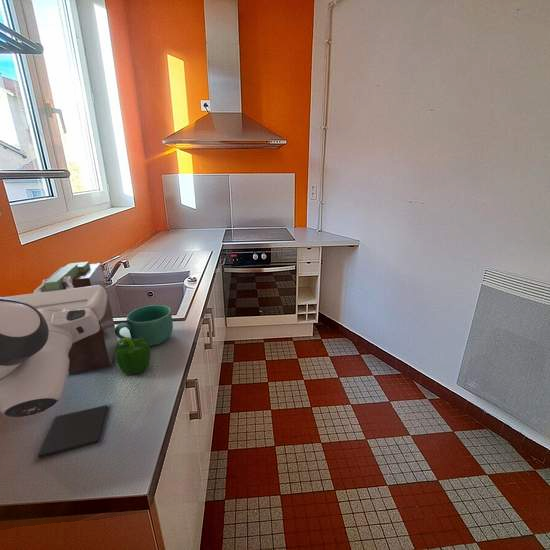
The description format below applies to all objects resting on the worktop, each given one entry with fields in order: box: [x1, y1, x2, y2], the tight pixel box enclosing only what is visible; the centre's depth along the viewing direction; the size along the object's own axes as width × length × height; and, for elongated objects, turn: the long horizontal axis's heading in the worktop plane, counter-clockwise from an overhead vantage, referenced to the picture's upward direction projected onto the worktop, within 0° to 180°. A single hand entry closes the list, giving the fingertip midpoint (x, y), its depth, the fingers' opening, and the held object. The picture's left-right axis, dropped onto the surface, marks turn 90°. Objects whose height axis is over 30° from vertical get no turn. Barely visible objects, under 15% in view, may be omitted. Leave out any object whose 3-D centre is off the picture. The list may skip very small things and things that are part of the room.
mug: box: [115, 304, 174, 347], centre depth 93 cm, size 17×13×10 cm
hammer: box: [44, 261, 91, 292], centre depth 74 cm, size 19×5×2 cm, turn 16°
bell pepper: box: [114, 337, 151, 375], centre depth 80 cm, size 8×8×10 cm
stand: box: [46, 262, 119, 375], centre depth 84 cm, size 10×14×26 cm
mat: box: [37, 404, 108, 458], centre depth 62 cm, size 10×10×1 cm
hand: (58, 279), depth 69 cm, fingers closed on hammer, 2 cm apart
